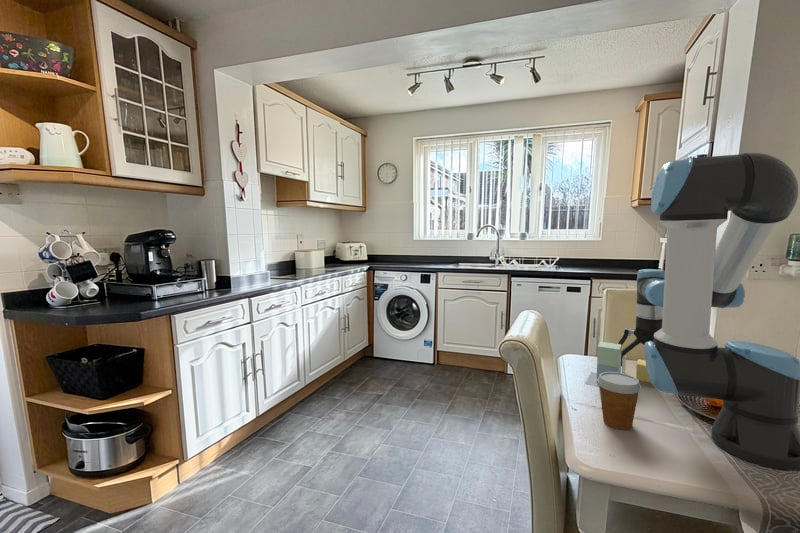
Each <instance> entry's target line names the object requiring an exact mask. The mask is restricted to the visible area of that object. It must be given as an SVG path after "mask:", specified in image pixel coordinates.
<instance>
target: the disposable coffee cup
mask: <svg viewBox="0 0 800 533" xmlns="http://www.w3.org/2000/svg"><path fill="white" fill-rule="evenodd" d="M597 382H598V384H599V394H600V403H601V412H602V418H603V419H602V421H603V423H604V422H605V423H606V424H605V423H604V424H605V425H606V426H608V427H610V428H612V429H616V430H620V431H621V430H623V431H625V430H630V429H633V425H634V424H633V423H634V418H635V413H636V408H637V407H636V406H637V403H638V396H639V392H640V391H641V389H642V386H641V384H640V380H638V379H636V376H635V377H634V376H632V375H629V374H626V373H625V374H623V373H622V372H621V373H618V372H603V373H601V374H600V375H599V378H598V379H597Z"/></svg>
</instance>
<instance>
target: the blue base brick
mask: <svg viewBox="0 0 800 533" xmlns="http://www.w3.org/2000/svg"><path fill="white" fill-rule="evenodd" d="M603 372H618V373H622V366H621V364H620V367H619V368H615V367H609V366H603V365H598V364H596V373H597V379H598V378H599V375H600V374H601V373H603ZM597 383H598V382H597Z"/></svg>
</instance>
